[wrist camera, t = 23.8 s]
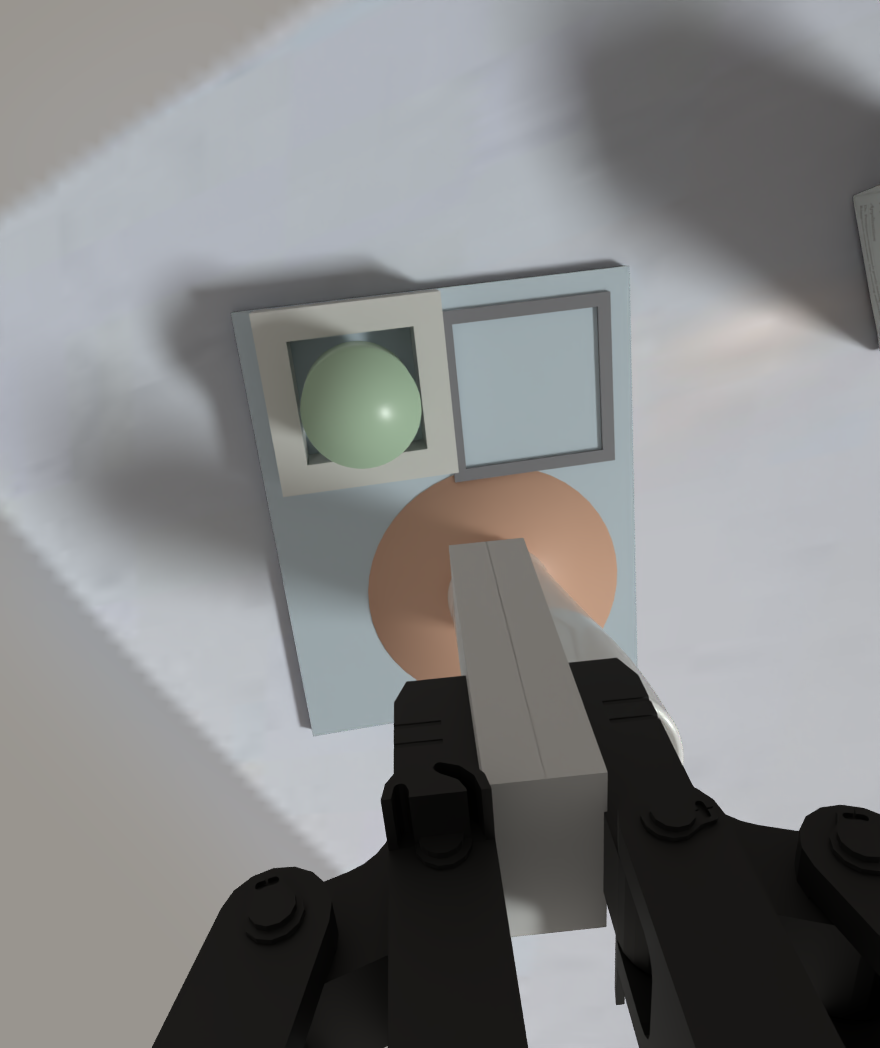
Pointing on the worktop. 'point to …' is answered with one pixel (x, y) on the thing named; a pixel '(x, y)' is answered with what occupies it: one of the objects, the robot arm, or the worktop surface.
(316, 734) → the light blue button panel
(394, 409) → the button
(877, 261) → the skincare box
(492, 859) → the robot arm
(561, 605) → the drinking glass
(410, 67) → the worktop surface
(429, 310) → the button collar
